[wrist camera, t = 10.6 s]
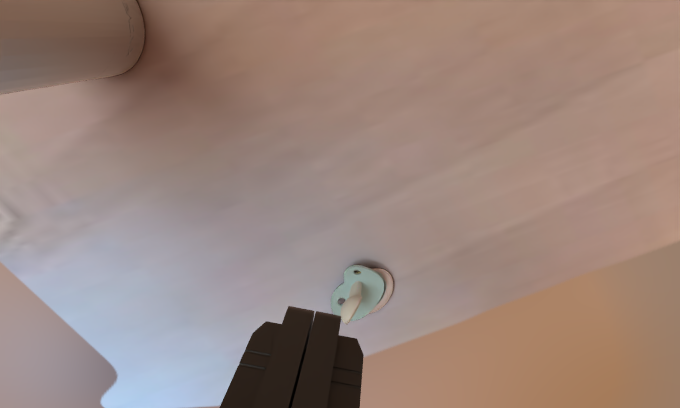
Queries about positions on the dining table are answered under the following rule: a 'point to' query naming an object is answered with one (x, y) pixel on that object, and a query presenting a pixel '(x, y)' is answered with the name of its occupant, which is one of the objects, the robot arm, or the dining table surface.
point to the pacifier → (361, 292)
